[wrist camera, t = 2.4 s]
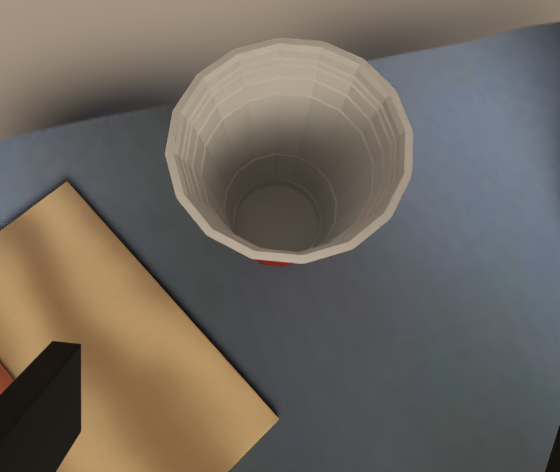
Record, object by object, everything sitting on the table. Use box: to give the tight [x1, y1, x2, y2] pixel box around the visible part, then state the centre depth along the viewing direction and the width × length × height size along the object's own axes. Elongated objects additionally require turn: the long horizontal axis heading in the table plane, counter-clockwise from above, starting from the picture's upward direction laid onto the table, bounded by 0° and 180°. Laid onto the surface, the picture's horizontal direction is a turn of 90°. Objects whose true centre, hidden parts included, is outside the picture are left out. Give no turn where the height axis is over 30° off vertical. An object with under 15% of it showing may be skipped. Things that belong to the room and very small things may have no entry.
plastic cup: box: [165, 37, 413, 266], centre depth 27 cm, size 11×11×12 cm
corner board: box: [0, 182, 279, 472], centre depth 28 cm, size 22×20×1 cm
